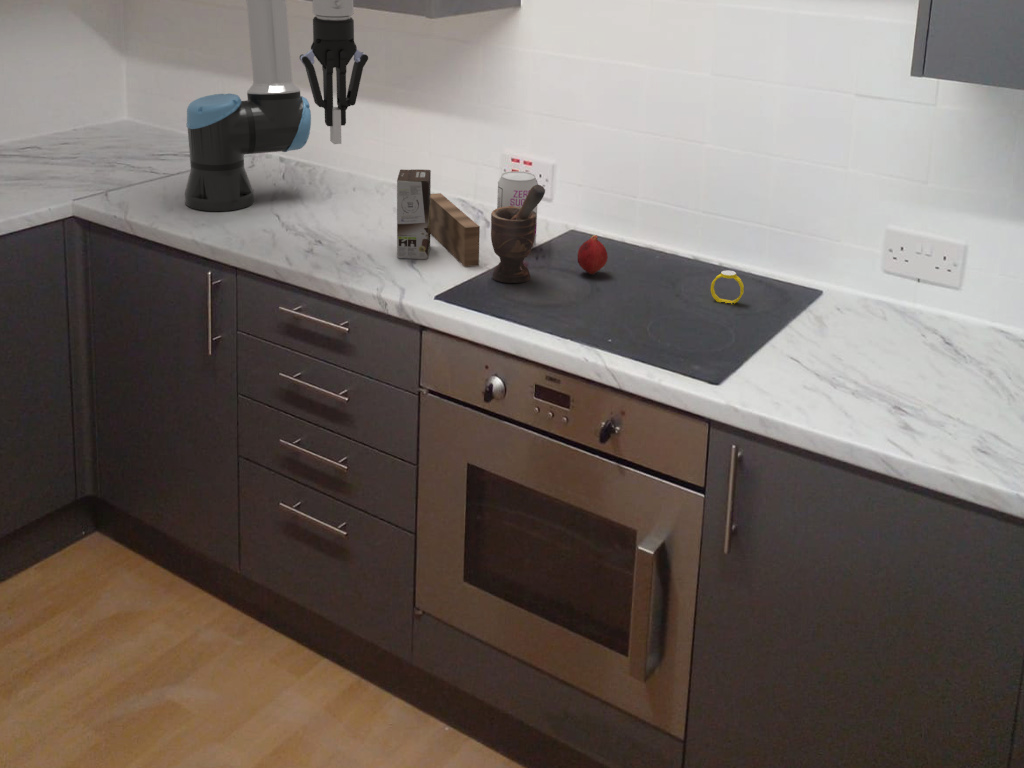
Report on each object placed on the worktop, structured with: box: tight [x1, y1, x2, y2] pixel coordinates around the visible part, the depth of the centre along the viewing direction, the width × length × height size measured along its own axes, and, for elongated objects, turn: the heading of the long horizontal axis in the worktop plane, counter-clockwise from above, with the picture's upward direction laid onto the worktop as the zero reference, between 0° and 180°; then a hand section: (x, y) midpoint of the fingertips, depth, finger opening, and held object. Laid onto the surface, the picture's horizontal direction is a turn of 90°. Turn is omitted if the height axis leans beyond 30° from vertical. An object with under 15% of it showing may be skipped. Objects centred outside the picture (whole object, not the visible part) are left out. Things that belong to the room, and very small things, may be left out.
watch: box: [710, 270, 745, 305], centre depth 228 cm, size 6×3×6 cm, turn 69°
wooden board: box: [430, 192, 481, 267], centre depth 250 cm, size 24×3×8 cm, turn 22°
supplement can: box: [496, 170, 539, 249], centre depth 251 cm, size 8×8×15 cm
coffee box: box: [396, 169, 432, 260], centre depth 245 cm, size 9×6×16 cm
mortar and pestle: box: [490, 184, 546, 284], centre depth 232 cm, size 12×9×20 cm
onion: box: [577, 234, 608, 275], centre depth 239 cm, size 6×6×8 cm
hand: (335, 142), depth 236 cm, fingers closed
